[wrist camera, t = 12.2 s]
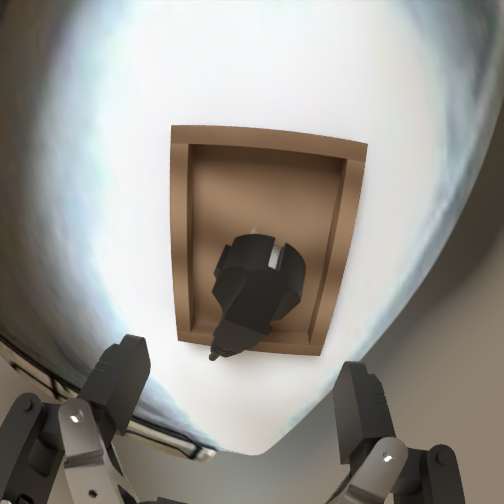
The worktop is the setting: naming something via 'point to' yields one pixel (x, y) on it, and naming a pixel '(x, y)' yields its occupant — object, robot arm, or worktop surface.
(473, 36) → the worktop surface
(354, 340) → the worktop surface
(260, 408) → the worktop surface
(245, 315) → the power plug
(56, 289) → the worktop surface
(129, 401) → the robot arm
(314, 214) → the brown tray
